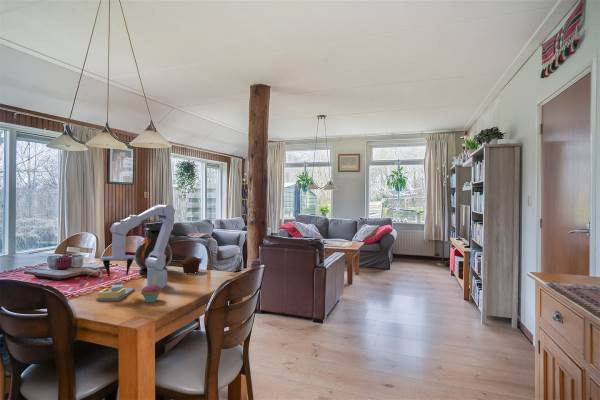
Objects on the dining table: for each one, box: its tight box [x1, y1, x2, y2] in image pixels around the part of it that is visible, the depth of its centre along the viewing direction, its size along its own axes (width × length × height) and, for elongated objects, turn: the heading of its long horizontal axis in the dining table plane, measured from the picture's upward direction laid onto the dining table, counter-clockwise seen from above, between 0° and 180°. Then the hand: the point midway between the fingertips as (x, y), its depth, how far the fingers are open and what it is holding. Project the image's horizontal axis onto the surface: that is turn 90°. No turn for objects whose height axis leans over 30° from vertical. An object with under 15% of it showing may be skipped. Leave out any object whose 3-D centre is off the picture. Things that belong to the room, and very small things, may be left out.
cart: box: [110, 281, 124, 292], centre depth 153 cm, size 6×4×4 cm
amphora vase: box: [134, 226, 173, 275], centre depth 200 cm, size 22×22×28 cm
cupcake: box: [140, 274, 162, 303], centre depth 146 cm, size 9×8×12 cm
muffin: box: [181, 255, 201, 274], centre depth 203 cm, size 12×11×10 cm
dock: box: [96, 287, 135, 302], centre depth 152 cm, size 10×16×4 cm, turn 5°
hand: (117, 275), depth 153 cm, fingers open, 7 cm apart
